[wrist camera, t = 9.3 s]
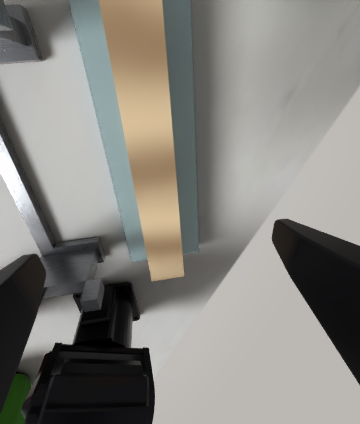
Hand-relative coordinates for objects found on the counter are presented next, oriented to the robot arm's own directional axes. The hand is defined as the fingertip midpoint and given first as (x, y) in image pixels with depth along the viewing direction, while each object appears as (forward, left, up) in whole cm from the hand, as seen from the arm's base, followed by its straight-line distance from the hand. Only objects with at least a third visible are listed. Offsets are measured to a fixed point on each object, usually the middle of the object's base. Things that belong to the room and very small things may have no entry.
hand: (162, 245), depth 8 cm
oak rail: (0, 0, -11) cm, 11 cm away
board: (0, 0, -12) cm, 12 cm away
